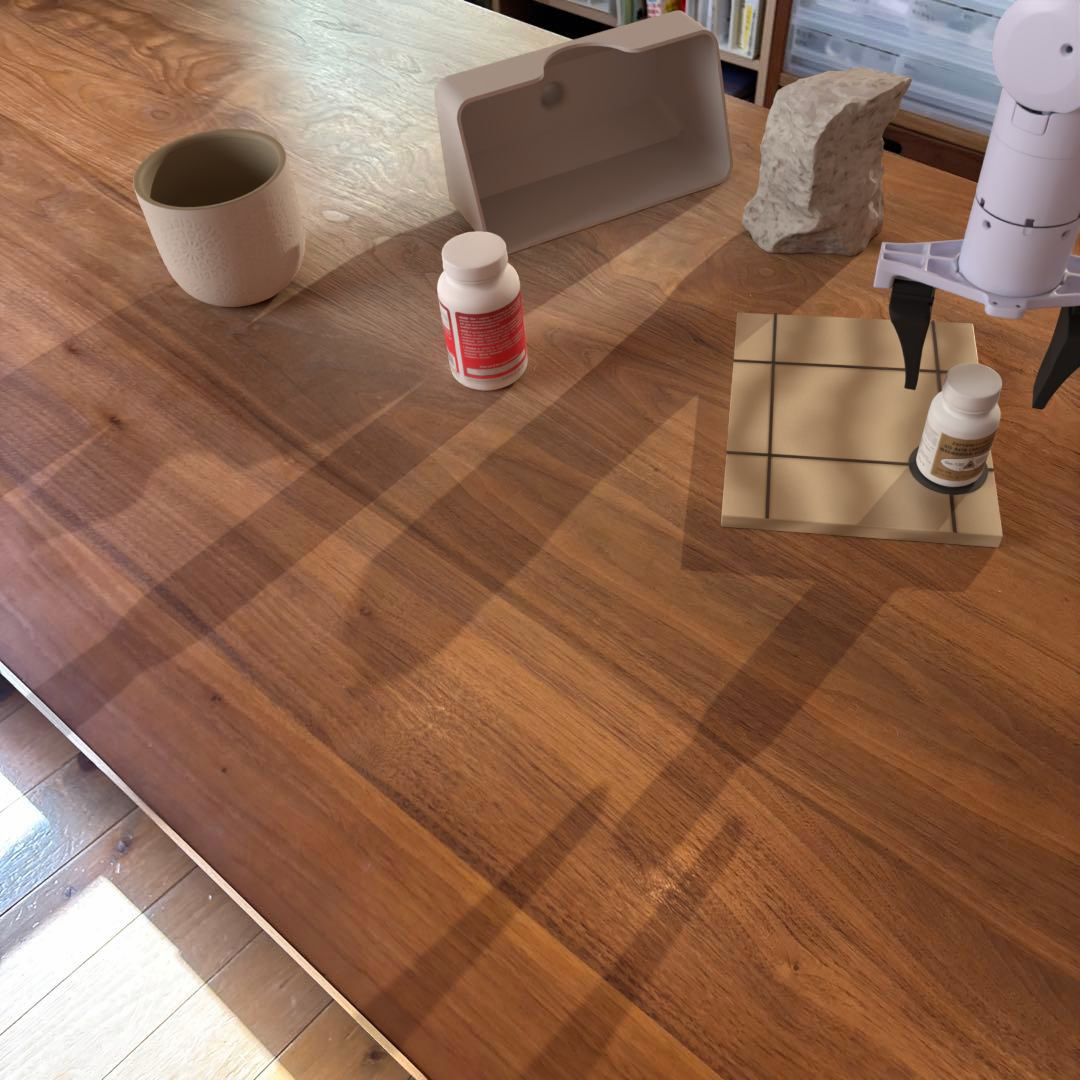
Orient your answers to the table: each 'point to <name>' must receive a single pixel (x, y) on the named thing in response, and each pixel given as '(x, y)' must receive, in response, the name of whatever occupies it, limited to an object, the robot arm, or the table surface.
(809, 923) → the table surface
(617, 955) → the table surface
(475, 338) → the pill bottle
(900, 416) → the board
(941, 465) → the pill bottle
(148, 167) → the planter
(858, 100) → the decorative stone
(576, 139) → the grey storage bin
